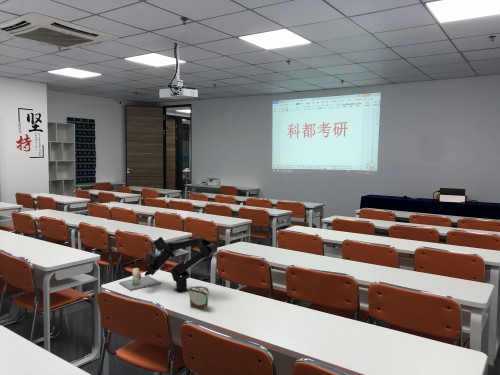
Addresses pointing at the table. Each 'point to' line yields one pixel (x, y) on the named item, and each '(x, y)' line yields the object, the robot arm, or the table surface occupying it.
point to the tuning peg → (136, 276)
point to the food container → (199, 297)
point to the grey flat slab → (140, 283)
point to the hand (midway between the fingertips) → (145, 275)
